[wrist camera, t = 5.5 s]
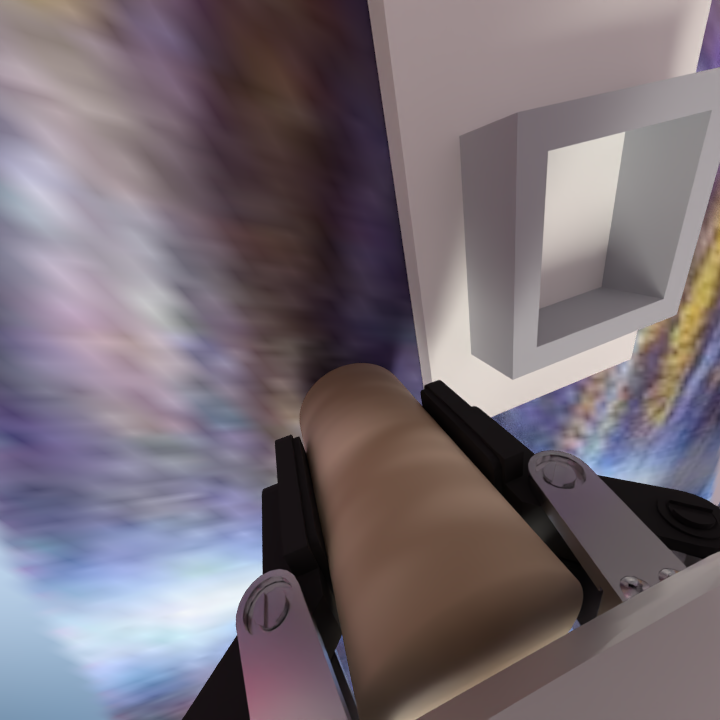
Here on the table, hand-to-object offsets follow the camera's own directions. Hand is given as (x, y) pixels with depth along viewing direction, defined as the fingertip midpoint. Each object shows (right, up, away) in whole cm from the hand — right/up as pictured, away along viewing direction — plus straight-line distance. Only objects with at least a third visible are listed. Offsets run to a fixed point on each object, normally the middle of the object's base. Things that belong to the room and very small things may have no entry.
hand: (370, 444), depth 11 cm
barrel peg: (-1, +1, +2) cm, 2 cm away
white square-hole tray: (+7, +8, +3) cm, 11 cm away
